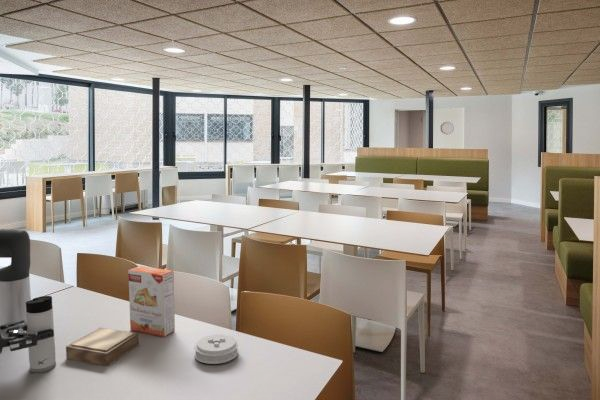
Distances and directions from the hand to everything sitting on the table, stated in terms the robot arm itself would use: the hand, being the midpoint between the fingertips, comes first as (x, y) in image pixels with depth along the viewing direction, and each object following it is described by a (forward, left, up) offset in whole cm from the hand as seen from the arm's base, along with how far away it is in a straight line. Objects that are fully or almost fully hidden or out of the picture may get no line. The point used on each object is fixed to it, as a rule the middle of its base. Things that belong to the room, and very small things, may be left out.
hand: (49, 327), depth 123 cm
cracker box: (+13, +28, -11) cm, 33 cm away
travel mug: (-1, -2, -11) cm, 11 cm away
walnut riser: (+8, +11, -11) cm, 18 cm away
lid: (+41, +19, -12) cm, 47 cm away
